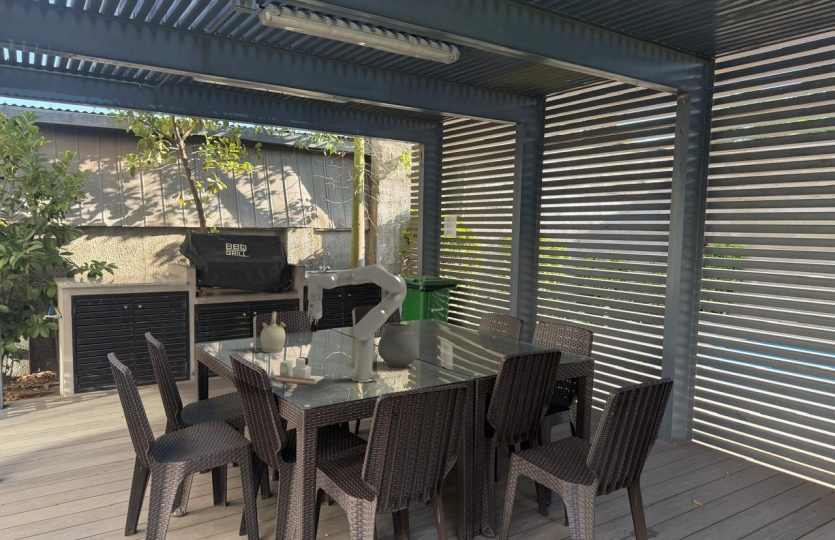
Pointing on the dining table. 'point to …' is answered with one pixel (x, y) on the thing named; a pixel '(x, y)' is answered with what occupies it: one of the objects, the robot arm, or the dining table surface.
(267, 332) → the jug
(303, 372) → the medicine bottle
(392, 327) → the ceramic pot
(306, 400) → the dining table surface
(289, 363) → the tea box
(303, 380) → the cream flat block
